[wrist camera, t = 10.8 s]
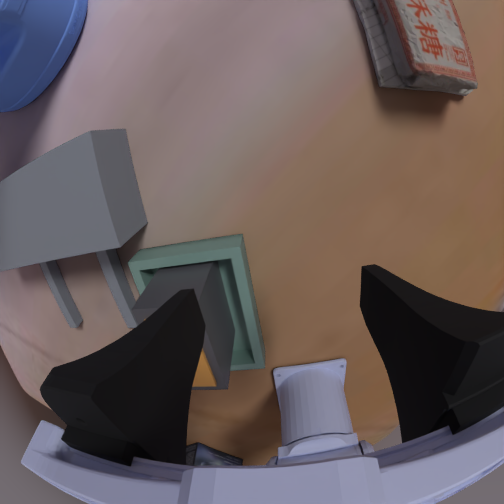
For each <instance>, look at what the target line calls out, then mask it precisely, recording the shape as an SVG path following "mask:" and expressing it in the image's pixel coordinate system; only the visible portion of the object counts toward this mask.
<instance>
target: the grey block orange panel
mask: <svg viewBox="0 0 504 504" xmlns="http://www.w3.org/2000/svg"><path fill="white" fill-rule="evenodd" d="M193 288H194V291H195V294H196V297H197V300H198V303H199V306H200V309H201V313H202V316H203V319H204V322H205V324H206V327H205V336H204V344H203V348H202V352H201V355H200V359H199V363H198V366H197V370H196V374H195V378H194V381H193V385H192V390H219V389H228V384H229V376H230V369H231V361H232V353H233V345H234V338H235V327H234V323H233V319H232V315H231V312H230V308H229V304H228V300H227V296H226V292H225V288H224V284H223V280H222V276H221V272H220V268H219V264H218V260H214V261H207V262H199V263H192V264H184V265H177V266H169V267H161V268H159V269H158V270H157V272H156V273H155V275H154V276H153V278H152V279H151V281H150V282H149V284H148V285H147V286H146V288H145V289H144V291H143V292H142V294H141V296H140V297H139V299H138V300H137V302H136V303H135V305H134V306H133V308H132V309H131V310H132V312H133V314H134V317H135V319H136V321H137V323H138V325H139V324H141V323H142V322H143V321H144V320H145V319H147V318H148V317H149V316H150V315H152V314H153V313H154V312H155V311H156V310H157V309H158V308H160V307H161V306H162V305H163V304H164V303H165V302H166V301H168V300H169V299H170V298H171V297H172V296H173V295H175V294H176V293H177V292H178V291H180V290H183V289H193Z"/></svg>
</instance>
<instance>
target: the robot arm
mask: <svg viewBox="0 0 504 504" xmlns="http://www.w3.org/2000/svg"><path fill="white" fill-rule="evenodd" d="M360 308H361V311H362V314H363V317H364V320H365V323H366V326H367V328H368V330H369V332H370V334H371V336H372V338H373V341H374V343H375V345H376V347H377V349H378V351H379V353H380V355H381V358H382V360H383V362H384V365H385V367H386V370H387V373H388V376H389V380H390V383H391V387H392V390H393V394H394V399H395V403H396V407H397V412H398V418H399V423H400V430H401V437H402V444H399V445H396V446H392V447H389V448H386V449H382V450H379V451H375V452H374V449H373V447H372V445H371V444H370V443H368V442H366V441H365V440H362V441H359V442H358V438H357V434H356V433H353V429H352V424H351V420H350V415H349V411H348V406H347V402H346V398H345V394H344V390H343V388H344V380H345V371H346V360H345V359H344V358H342V359H336V360H330V361H324V362H318V363H311V364H304V365H296V366H288V367H279V368H275V369H274V370H273V375H274V380H275V386H276V391H277V396H278V402H279V407H280V412H281V435H282V447H278V456H273V457H271V458H270V460H269V461H268V462H267V464H266V465H261V466H225V465H211V466H188V465H186V439H187V423H188V412H189V404H190V396H191V390H192V385H193V381H194V378H195V374H196V370H197V366H198V363H199V359H200V355H201V352H202V348H203V344H204V336H205V327H206V324H205V322H204V319H203V316H202V313H201V309H200V306H199V303H198V300H197V297H196V294H195V291H194V288H193V289H183V290H180V291H178V292H177V293H176V294H175V295H173V296H172V297H171V298H170V299H169V300H168V301H166V302H165V303H164V304H163V305H162V306H161V307H160V308H158V309H157V310H156V311H155V312H154V313H153V314H152V315H150V316H149V317H148V318H147V319H145V320H144V321H143V322H142V323H141V324H139V325H138V326H137V327H136V328H134V329H133V330H131V331H130V332H129V333H127V334H126V335H124V336H123V337H121V338H120V339H118V340H116V341H115V342H113V343H111V344H109V345H108V346H106V347H104V348H102V349H100V350H99V351H97V352H94V353H92V354H90V355H88V356H85V357H83V358H81V359H78V360H76V361H73V362H70V363H67V364H63V365H60V366H57V367H54V368H53V369H52V370H51V372H50V373H49V375H48V376H47V378H46V379H45V381H44V382H43V384H42V385H41V387H40V392H41V395H42V397H43V399H44V400H45V402H46V403H47V404H48V405H49V407H50V408H51V409H52V410H53V411H54V412H55V413H56V414H57V415H58V416H59V417H60V418H61V419H62V420H63V421H64V422H65V423H66V424H67V428H66V429H65V430H64V429H62V428H60V427H58V426H57V425H54V424H51V423H49V422H47V421H44V420H41V422H40V424H39V426H38V428H37V430H36V432H35V434H34V435H33V437H32V440H31V441H30V444H29V446H28V448H27V450H26V452H25V454H24V456H23V458H22V461H21V462H22V464H23V465H24V466H26V467H27V468H28V469H30V470H31V471H33V472H34V473H35V474H37V475H38V476H40V477H42V478H43V479H44V480H46V481H47V482H49V483H50V484H52V485H54V486H55V487H57V488H59V489H60V490H62V491H64V492H66V493H68V494H70V495H72V496H74V497H76V498H78V499H80V500H82V501H84V502H86V503H88V504H435V503H438V502H440V501H441V500H444V499H446V498H448V497H450V496H452V495H454V494H455V493H457V492H459V491H461V490H463V489H464V488H466V487H468V486H470V485H471V484H473V483H474V482H476V481H478V480H479V479H481V478H483V477H484V476H485V475H487V474H489V473H490V472H492V471H493V470H495V469H496V468H497V467H499V466H500V465H501V464H503V463H504V312H495V311H487V310H482V309H477V308H472V307H468V306H464V305H461V304H457V303H454V302H451V301H448V300H445V299H443V298H440V297H438V296H435V295H433V294H430V293H428V292H426V291H424V290H422V289H420V288H418V287H416V286H414V285H412V284H410V283H408V282H407V281H405V280H403V279H401V278H399V277H398V276H396V275H394V274H392V273H391V272H389V271H387V270H385V269H383V268H381V267H380V266H377V265H375V264H374V265H367V266H362V271H361V295H360ZM277 374H279V375H277Z"/></svg>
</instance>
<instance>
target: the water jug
mask: <svg viewBox="0 0 504 504" xmlns="http://www.w3.org/2000/svg"><path fill="white" fill-rule="evenodd" d="M87 5H88V0H0V112H8V111H15V110H18V109H20V108H22V107H24V106H26V105H28V104H29V103H31V102H32V101H33V100H34V99H36V98H37V97H38V96H39V95H40V94H41V93H42V92H43V91H44V90H45V89H46V88H47V87H48V85H49V84H50V83H51V82H52V81H53V79H54V78H55V77H56V75H57V74H58V72H59V71H60V70H61V68H62V67H63V65H64V63H65V62H66V60H67V58H68V57H69V55H70V53H71V51H72V49H73V48H74V46H75V44H76V41H77V39H78V37H79V35H80V32H81V30H82V27H83V24H84V20H85V17H86V12H87Z"/></svg>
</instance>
